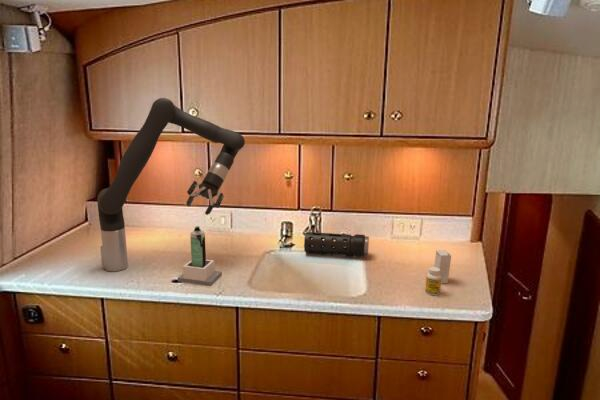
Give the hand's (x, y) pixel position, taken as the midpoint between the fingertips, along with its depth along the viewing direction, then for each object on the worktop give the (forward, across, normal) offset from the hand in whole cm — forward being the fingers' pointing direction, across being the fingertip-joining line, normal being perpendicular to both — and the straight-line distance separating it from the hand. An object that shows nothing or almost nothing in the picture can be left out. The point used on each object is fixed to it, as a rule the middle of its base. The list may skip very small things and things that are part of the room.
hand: (197, 210), depth 198 cm
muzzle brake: (-13, +56, +31) cm, 65 cm away
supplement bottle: (-9, +97, +2) cm, 97 cm away
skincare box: (-17, +99, +11) cm, 101 cm away
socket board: (+23, +13, +6) cm, 27 cm away
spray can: (+22, +12, +5) cm, 26 cm away
